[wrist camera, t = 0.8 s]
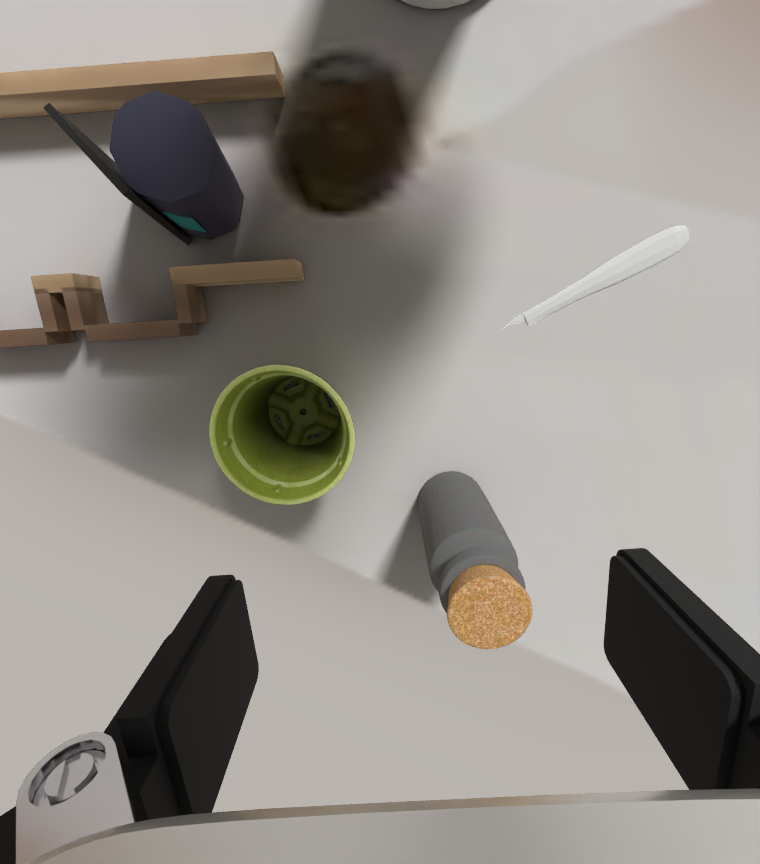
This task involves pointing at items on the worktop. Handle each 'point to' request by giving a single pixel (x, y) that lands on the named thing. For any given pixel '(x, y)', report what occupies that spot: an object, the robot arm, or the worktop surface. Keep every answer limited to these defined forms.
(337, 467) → the plant pot
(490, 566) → the bottle
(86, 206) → the worktop surface
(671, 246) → the white baseball bat
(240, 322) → the worktop surface
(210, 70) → the trap channel
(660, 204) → the worktop surface
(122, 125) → the black blue bulged block
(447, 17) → the worktop surface
